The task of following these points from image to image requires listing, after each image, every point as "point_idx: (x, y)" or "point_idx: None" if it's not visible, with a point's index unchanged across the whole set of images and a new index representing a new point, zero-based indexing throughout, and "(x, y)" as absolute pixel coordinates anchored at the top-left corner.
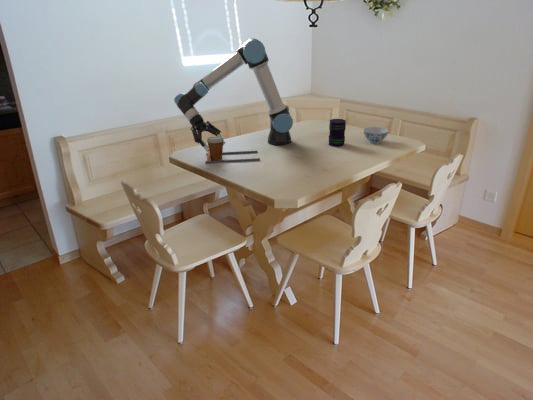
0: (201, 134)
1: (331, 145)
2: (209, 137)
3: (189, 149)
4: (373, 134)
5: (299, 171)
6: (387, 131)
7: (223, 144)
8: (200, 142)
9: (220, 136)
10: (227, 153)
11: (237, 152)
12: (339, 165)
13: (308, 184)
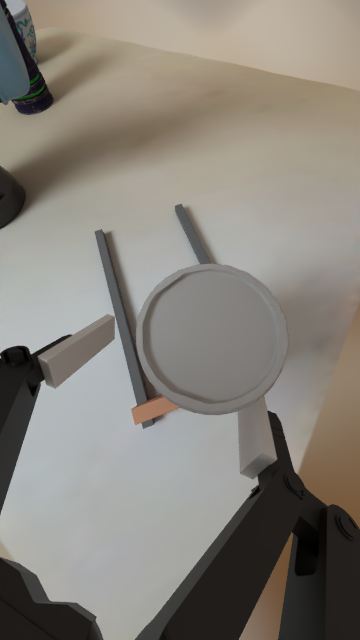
0: (227, 546)
1: (46, 105)
2: (186, 400)
3: (53, 595)
4: (25, 17)
5: (239, 122)
6: (6, 7)
7: (114, 329)
8: (286, 465)
9: (67, 341)
10: (128, 326)
11: (117, 289)
12: (180, 81)
13: (310, 98)
